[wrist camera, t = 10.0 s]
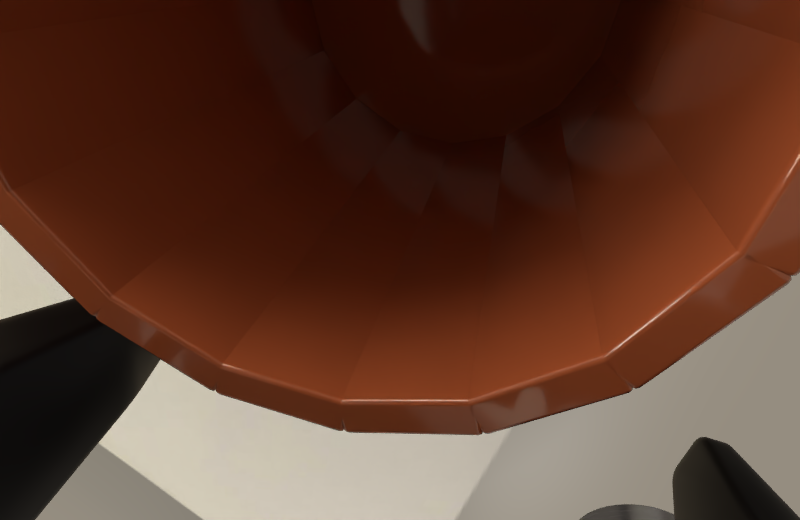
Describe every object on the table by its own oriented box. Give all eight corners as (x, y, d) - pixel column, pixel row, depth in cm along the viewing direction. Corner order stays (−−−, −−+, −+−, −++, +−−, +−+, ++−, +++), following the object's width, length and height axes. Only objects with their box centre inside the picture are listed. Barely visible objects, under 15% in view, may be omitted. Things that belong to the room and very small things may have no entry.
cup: (716, -203, 8) (1833, -1165, 1) (569, 182, 11) (625, 521, 4) (316, -275, 8) (-536, -1185, 2) (290, 112, 12) (-31, 319, 5)
